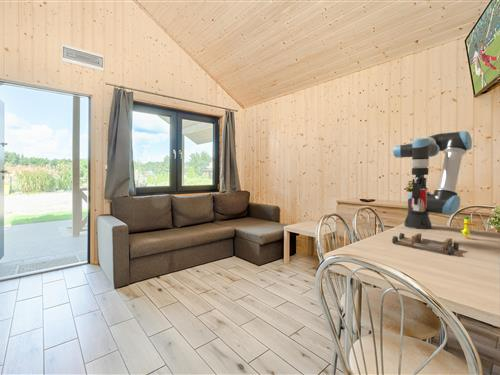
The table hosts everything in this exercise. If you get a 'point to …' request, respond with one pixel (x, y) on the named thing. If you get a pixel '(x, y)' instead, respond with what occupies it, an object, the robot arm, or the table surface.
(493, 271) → the table surface
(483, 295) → the table surface
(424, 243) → the chassis
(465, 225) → the toy figure
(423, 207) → the soda can
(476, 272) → the table surface
